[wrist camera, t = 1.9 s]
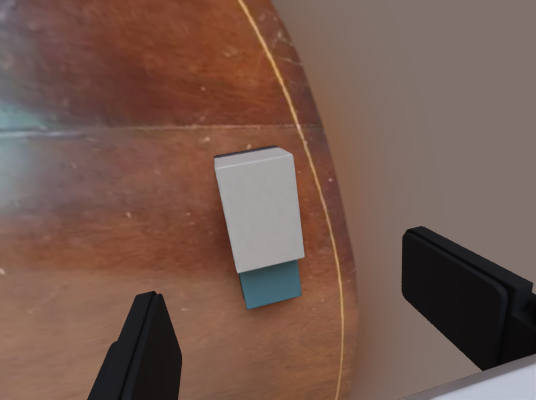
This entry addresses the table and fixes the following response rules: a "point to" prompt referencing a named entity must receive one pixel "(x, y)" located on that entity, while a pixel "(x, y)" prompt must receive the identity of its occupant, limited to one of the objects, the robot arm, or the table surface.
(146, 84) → the table surface
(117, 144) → the table surface
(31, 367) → the table surface
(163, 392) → the robot arm
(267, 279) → the two-tone stepped block
